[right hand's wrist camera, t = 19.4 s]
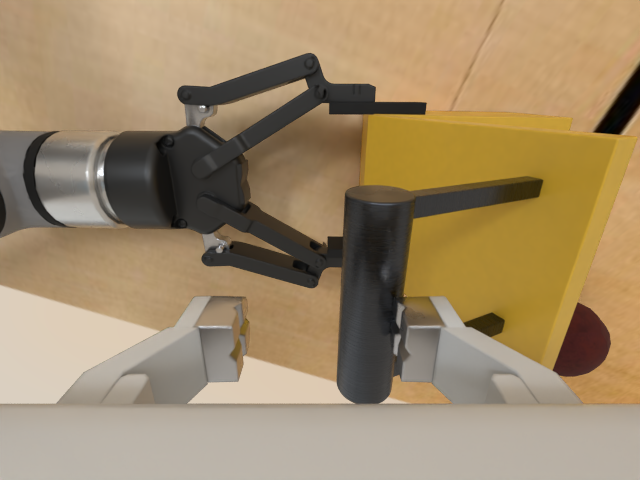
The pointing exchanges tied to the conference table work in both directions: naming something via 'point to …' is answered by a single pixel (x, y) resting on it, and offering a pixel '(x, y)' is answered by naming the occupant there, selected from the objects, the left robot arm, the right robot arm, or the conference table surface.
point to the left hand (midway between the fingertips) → (412, 183)
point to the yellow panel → (471, 235)
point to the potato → (582, 344)
